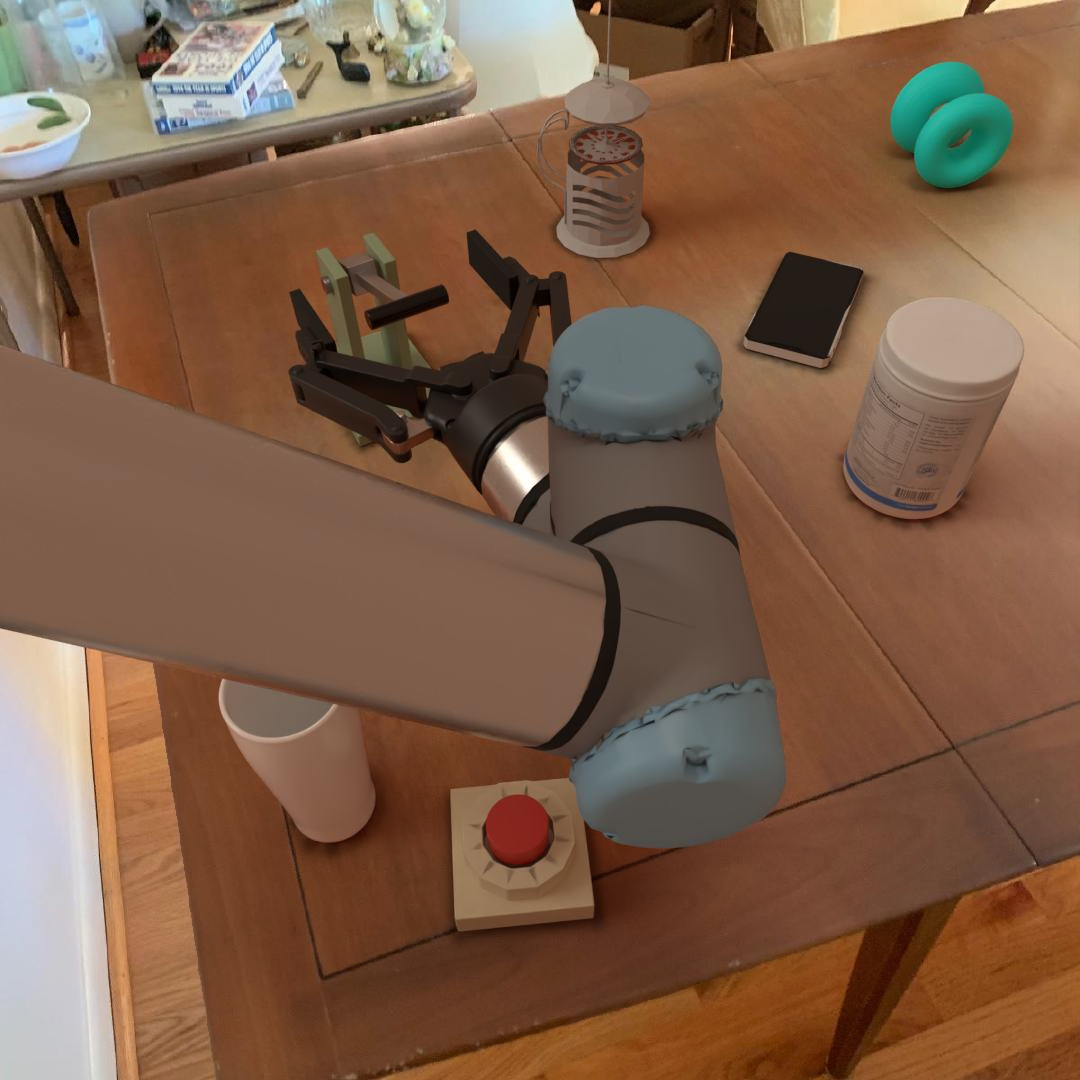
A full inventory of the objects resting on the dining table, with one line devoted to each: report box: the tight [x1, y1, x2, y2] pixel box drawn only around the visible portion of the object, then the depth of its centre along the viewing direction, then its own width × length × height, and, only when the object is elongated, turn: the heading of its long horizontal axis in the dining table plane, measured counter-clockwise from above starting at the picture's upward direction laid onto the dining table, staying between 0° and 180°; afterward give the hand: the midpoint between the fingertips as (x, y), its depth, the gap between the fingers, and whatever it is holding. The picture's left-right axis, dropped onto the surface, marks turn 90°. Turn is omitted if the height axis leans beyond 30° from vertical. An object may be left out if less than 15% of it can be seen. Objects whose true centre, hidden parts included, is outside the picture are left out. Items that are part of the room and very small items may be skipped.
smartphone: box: [742, 251, 865, 369], centre depth 92 cm, size 8×1×15 cm
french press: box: [535, 0, 651, 259], centre depth 92 cm, size 10×12×25 cm
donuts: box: [889, 61, 1014, 189], centre depth 104 cm, size 10×10×10 cm
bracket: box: [315, 232, 432, 447], centre depth 82 cm, size 12×9×14 cm
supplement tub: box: [842, 296, 1025, 520], centre depth 73 cm, size 10×10×15 cm
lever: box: [337, 252, 450, 331], centre depth 74 cm, size 13×6×2 cm, turn 29°
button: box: [486, 794, 549, 865], centre depth 56 cm, size 4×4×2 cm
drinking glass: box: [218, 679, 377, 844], centre depth 56 cm, size 7×7×15 cm
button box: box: [449, 777, 595, 932], centre depth 58 cm, size 8×8×4 cm
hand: (387, 275), depth 70 cm, fingers open, 13 cm apart
